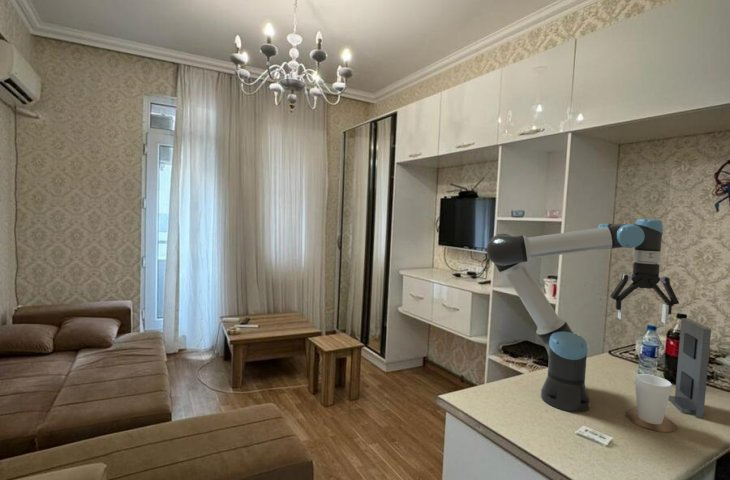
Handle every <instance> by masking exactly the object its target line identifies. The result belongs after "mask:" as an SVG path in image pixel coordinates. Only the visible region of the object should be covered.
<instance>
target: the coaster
mask: <svg viewBox="0 0 730 480" xmlns="http://www.w3.org/2000/svg"><path fill="white" fill-rule="evenodd" d="M625 417H626V419H628V420H629V421H630V422H632V423H633V424H634V425H637V426H639V427H641V428H644V429H647V430H650V431H654V432H659V433H673V432H675V431H676V429H677V426H676V424H675V422H674V421H672V420H671V419H669V418H668V417H666V416H664V419H663V421H662V424H651V423H648V422H645V421H643V420H641V419H640V418H639V417H638V411H637V408H630V409H627V410H626V411H625Z"/></svg>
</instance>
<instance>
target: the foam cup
mask: <svg viewBox="0 0 730 480" xmlns="http://www.w3.org/2000/svg"><path fill="white" fill-rule="evenodd" d="M634 385H635V395H636V409H637V411H638V417H639V418H640V419H641V420H643V421H645V422H648V423H651V424H662V421H663V419H664V417H665V414H666V411H667V406H668V403H669V396H671V393H672V387H673V386H672V385H673V384H672V383H671V381H669V380H668V379H666V378H662V377H660V376H658V375H654V374H653V375H652V374H648V373H647V374H646V373H637V374H635V375H634Z"/></svg>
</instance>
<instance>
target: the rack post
mask: <svg viewBox="0 0 730 480" xmlns="http://www.w3.org/2000/svg"><path fill="white" fill-rule="evenodd" d="M679 333H680V334H679V346H678V356H677V357H678V358H677V368H676V369H677V370H676V378H675V379H676V380H675V381H676V382H675V390H674V391H675V393H674V395H670V396H669V400H668V402H670V403H671V404H672V405H673V406H674V407H675V408H676V409H678V411H679V412H680V413H682V414H687V415H692V416H694V417H695V418H697V419H704V413H705V404H706V392H707V391H706V390H707V378H708V370H709V369H708V367H709V359H710V358H709V357H710V346H711V335H712V329H711V328H709V327H707V326H705V325H703V324H701V323H698V322H697V321H694V320H692V319H690V318H684V317H681V322H680V331H679Z"/></svg>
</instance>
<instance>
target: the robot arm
mask: <svg viewBox="0 0 730 480" xmlns="http://www.w3.org/2000/svg"><path fill="white" fill-rule="evenodd" d="M663 227H664V225H663V221H662V220H660V219H652V218H650V219H647V218H646V219H645V218H641V219H640V218H639V219H637V220H636V223H633V224H632V223H626V224H625V223H624V224H623V223H600V224H599V225H598V226H597V228H589V229H582V230H575V231H567V232H560V233H551V234H546V235H545V234H544V235H537V236H529V237H528V236H526V235H513V236H512V235H510V234H507V233H498V234H496V235H494V236H492V237H491V238H490V239H489V241H488V243H487V245H486V254H487V257H488V258H489V260H490V261H491V263H493V264H494V266H495V268H496V269H497V270H498V272H499V273H501V274H504V275H505V276H506V278H507V280H508V281H509V283H510V284H511V286H512V287H513V289H514V291H515V292H516V294H517V296H518V298H519V299H520V301H521V302H522V304H523V305H524V307H525V309H526V311H527V312H528V314H529V316H530V317H531V319H532V320H533V322H534V323H535V325H536V327H537V328H536V335H537V336H538V337H539V339H540V341H541V343H542V344H543V346H544V348H545V350H546V352H547V353H546V354H547V355H548V362H547V363H548V365H547V376H546V378H545V381H544V383H543V385H542V388H541V389H540V390H541V391H540V397H541V399H542V401H543V402H544V403H546V404H547V405H550V406H552V407H553V408H557V409H560V410H563V411H566V412H576V413H580V412H581V413H582V412H586V411H587V410H589V409H590V398H589V394H588V390H587V387H586V369H587V357H588V350H589V349H588V343H587V341H586V339H585V338H584V337H582V336H581V335H578V334H577V333H574V331H572V329H571V327H570V325H569V324H568V323H567V321H566V320H565V319H564V318H561V317H559V316H558V314H557V313H556V311H555V309H554V308H553V306H552V305H551V302H550V301H549V300H548V298H547V297H546V295H545V294H544V291H543V290H542V289H541V287H540V285H539V284H538V281H536V278H535V277H534V276H533V274H532V272H531V271H530V269H529V267H528V265H527V264H526V262H529V261H530V260H531V259H538V258H545V257H553V256H560V255H561V256H562V255H570V254H578V253H587V252H594V251H602V250H611V249H612V250H614V249H621V248H623V249H624V248H627V249H629V248H630V249H631V248H634V253H633V261H634V262H633V265H632V274H631V275H629V274H625V273H624V274H622V276H621V279H620V281H619V283H618V284H617V285H616V287H615V289H613V291H612V293H611V295H610V297H609V298H611V299H613V300H614V301H615V309H616V310H617V319H619V320H621V321H623V320H624V310H625V309H624V307H625V302H624V301H623V300H624V299H626V298H627V297H628V296H629V295H630V294H632V292H634V291H635V290H637V289H638V288H639V289H648V290H651V289H652V290H653V291H654V292H655V293H656V294H657V295H658V297H659V298H660V299H661V300H662V301H663V302H664V303H662V308H661V309H662V311H661V323H662V324H664V325H668V319H669V315H671V314H672V308H673V307H674V305H678V304H680V302H679V299H678V298H677V297H678V296H677V295H676V293H675V291H674V289H673V287H672V285H671V284H670V283H671V280H670V277H667V276H662V277H660V276H659V274H660V266H661V265H660V264H659V263H660V262H661V255H662V254H661V249H662V241H663ZM630 280H631V281H632V282H631V283H630V284H629V285H628V286H627V287H626V285H627V284H628V282H629V281H630ZM659 283H661V284H662V286H663V287H664V289H665V291H666V293H667V295H668V296H667V295H666V293H665V292H663V290H661V288H660V286H659V285H658V284H659ZM625 287H626V288H625ZM624 288H625V289H624ZM623 289H624V290H623Z"/></svg>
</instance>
